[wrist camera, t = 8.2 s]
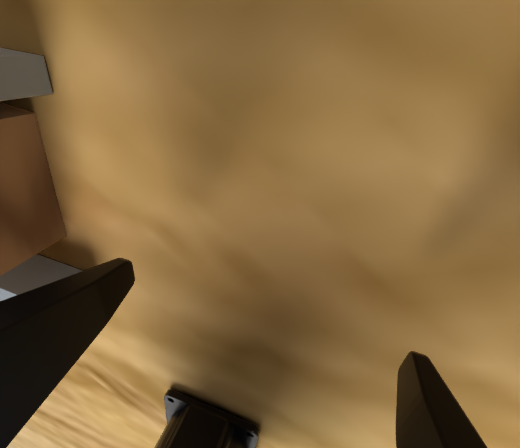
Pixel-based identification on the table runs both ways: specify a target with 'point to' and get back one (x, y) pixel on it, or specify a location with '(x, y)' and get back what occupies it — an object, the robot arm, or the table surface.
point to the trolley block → (25, 191)
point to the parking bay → (15, 87)
